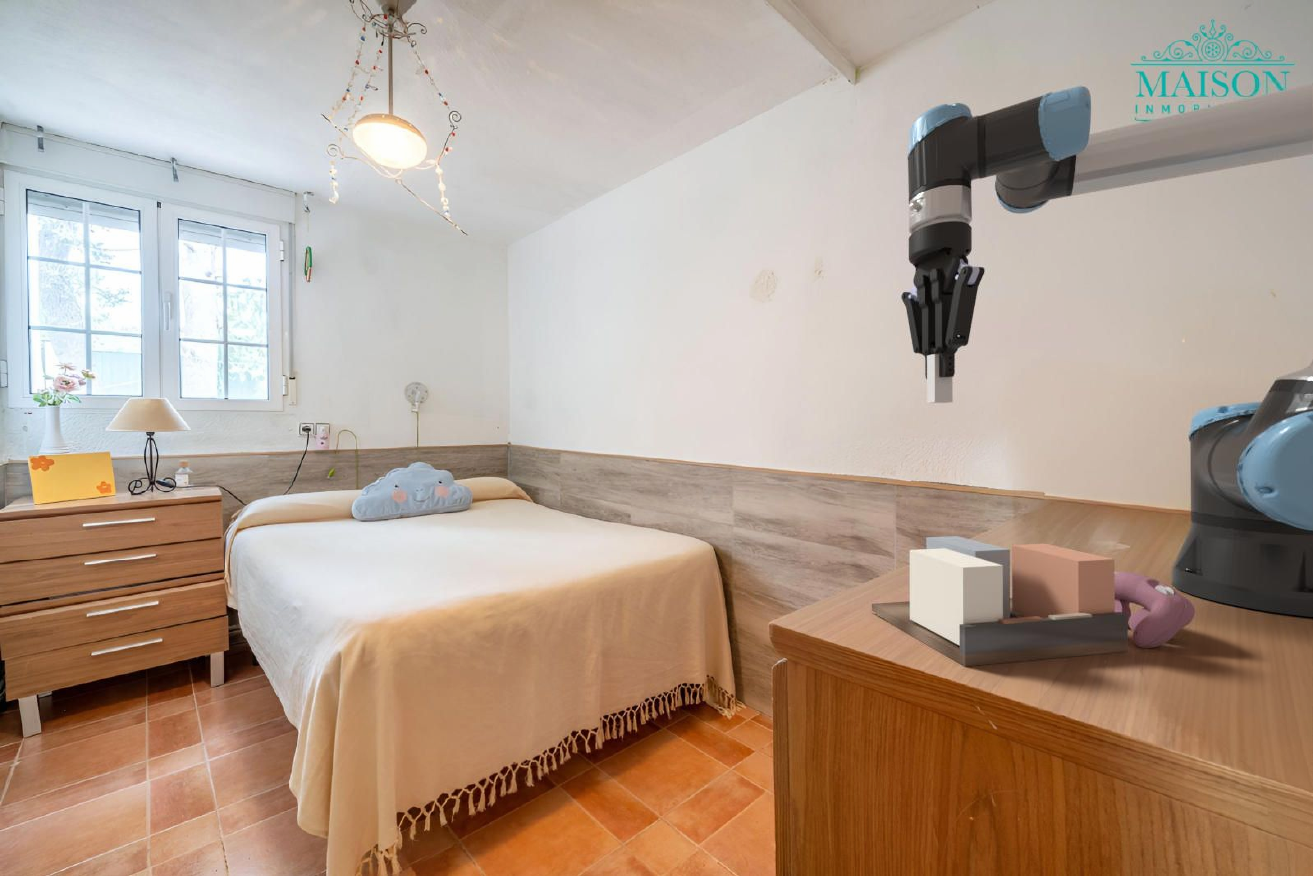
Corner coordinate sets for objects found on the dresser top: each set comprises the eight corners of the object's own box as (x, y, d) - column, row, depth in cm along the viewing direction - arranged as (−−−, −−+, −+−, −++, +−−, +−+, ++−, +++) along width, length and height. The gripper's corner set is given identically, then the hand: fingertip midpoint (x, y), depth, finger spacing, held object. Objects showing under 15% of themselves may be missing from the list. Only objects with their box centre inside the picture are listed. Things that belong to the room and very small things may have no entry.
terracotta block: (1012, 611, 53) (1012, 545, 53) (1044, 609, 54) (1044, 543, 54) (1078, 637, 46) (1078, 561, 46) (1114, 634, 47) (1114, 559, 47)
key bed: (871, 612, 57) (871, 580, 57) (1002, 603, 60) (1002, 573, 60) (965, 666, 43) (964, 624, 43) (1127, 651, 46) (1127, 612, 46)
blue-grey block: (926, 599, 57) (926, 537, 57) (957, 597, 58) (957, 536, 58) (975, 621, 50) (975, 551, 50) (1010, 618, 51) (1009, 549, 51)
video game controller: (1181, 667, 47) (1215, 599, 47) (1138, 646, 46) (1171, 577, 47) (1088, 627, 56) (1115, 571, 56) (1052, 609, 56) (1079, 553, 56)
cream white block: (909, 619, 51) (909, 550, 51) (944, 616, 52) (944, 548, 52) (963, 647, 44) (963, 567, 44) (1002, 644, 45) (1002, 565, 45)
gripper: (884, 246, 75) (885, 405, 75) (950, 206, 62) (951, 398, 62) (930, 249, 76) (930, 405, 76) (1003, 210, 63) (1003, 399, 63)
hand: (939, 402), depth 69 cm, fingers closed
